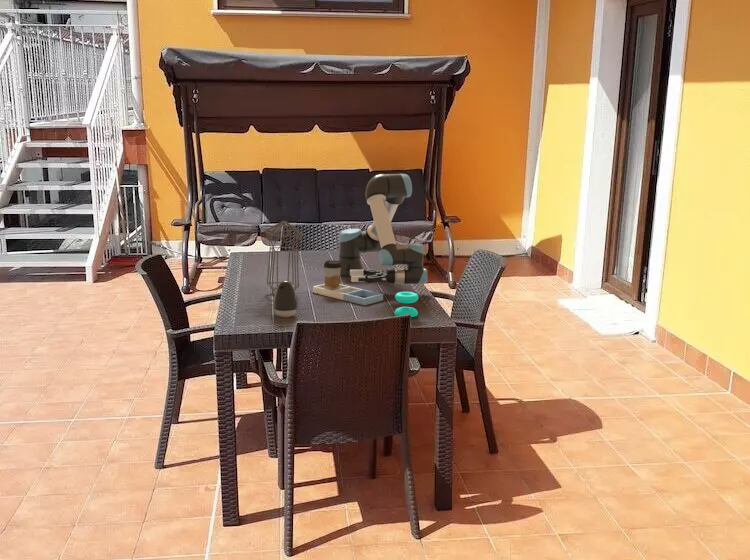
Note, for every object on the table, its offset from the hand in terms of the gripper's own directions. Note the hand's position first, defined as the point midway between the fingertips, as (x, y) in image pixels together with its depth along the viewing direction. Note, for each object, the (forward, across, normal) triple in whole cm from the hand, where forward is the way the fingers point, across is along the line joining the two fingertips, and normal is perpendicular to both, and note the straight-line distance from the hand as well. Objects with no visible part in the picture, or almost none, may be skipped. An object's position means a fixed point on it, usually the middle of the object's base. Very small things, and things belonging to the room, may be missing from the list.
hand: (350, 275), depth 366 cm
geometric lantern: (+31, -4, -9) cm, 33 cm away
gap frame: (+2, -7, -8) cm, 11 cm away
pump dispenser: (+29, -41, -9) cm, 51 cm away
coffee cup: (+9, 0, -9) cm, 12 cm away
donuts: (-22, -41, -9) cm, 47 cm away
